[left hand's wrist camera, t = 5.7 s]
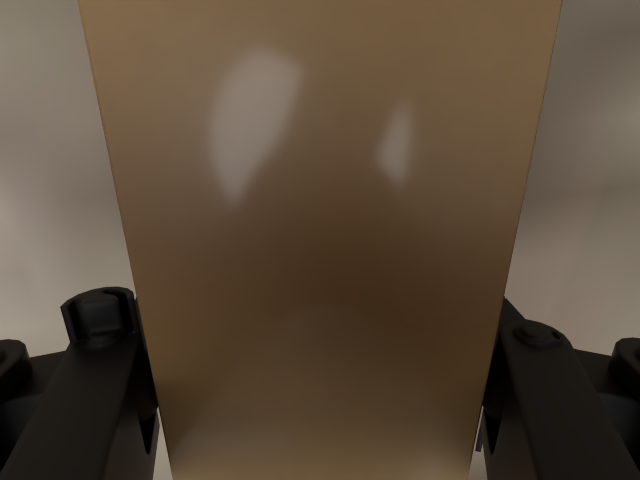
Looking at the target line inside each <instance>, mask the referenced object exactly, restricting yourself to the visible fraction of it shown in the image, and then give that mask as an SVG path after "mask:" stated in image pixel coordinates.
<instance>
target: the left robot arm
mask: <svg viewBox="0 0 640 480" xmlns="http://www.w3.org/2000/svg"><path fill="white" fill-rule="evenodd" d="M60 308H61V312H62V315H63V319H64V322H65V326H66V329H67V333H68V336H69V340H70V344H69V346H68V347H67V349H66V351H62V352H57V353H52V354H46V355H41V356H36V357H30V358H29V355H28V352H27V349H26V346H25V344H24V343H22V342H21V341H19V340H11V339H6V340H0V480H153V472H154V465H155V457H156V449H157V442H158V434H159V427H160V425H159V418H158V413H157V408H158V401H157V396H156V391H155V386H154V381H153V376H152V371H151V366H150V361H149V356H148V351H147V346H146V341H145V336H144V331H143V326H142V321H141V315H140V310H139V305H138V300H137V297H136V300H135V299H134V294H133V292H132V291H131V290H129V289H128V288H123V287H103V288H98V289H93V290H90V291H87V292H84V293H81V294H78V295H76V296H74V297H73V298H71V299H69V300H67V301H66V302H65V303H64V304H63V305H62V306H61V307H60ZM482 405H483V407H484V408H483V413H482V418H481V423H480V428H479V433H478V438H477V443H476V450H475V451H478V452H481V448H482V444H483V448H484V456H485V464H486V471H487V479H488V480H640V338H623V339H621V340H619V341H618V342H616V344H615V347H614V350H613V353H612V356H609V355H603V354H598V353H593V352H587V351H582V350H577V349H573V347H572V345H571V343H570V341H569V340H568V339H567V338H566V337H565V336H564V334H562V333H561V332H559V331H557V330H556V329H554V328H553V327H550V326H548V325H545V324H543V323H540V322H536V321H532V320H527V319H525V318H524V317H523V316H522V315H521V314H520V313H519V312H518V311H517V310H516V308H515V307H514V306H513V305H512V304H511V303H510V302H509V301H508V300H507V299H505V296H504V298H503V303H502V308H501V313H500V318H499V323H498V328H497V333H496V338H495V343H494V348H493V353H492V358H491V363H490V368H489V373H488V378H487V383H486V388H485V393H484V398H483V403H482Z"/></svg>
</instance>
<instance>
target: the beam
mask: <svg viewBox="0 0 640 480" xmlns="http://www.w3.org/2000/svg"><path fill="white" fill-rule="evenodd" d="M562 1H563V0H78V3H79V8H80V13H81V18H82V23H83V28H84V33H85V38H86V43H87V48H88V53H89V59H90V64H91V69H92V74H93V79H94V84H95V89H96V94H97V99H98V104H99V109H100V114H101V119H102V124H103V129H104V134H105V139H106V144H107V149H108V154H109V159H110V164H111V169H112V174H113V179H114V184H115V190H116V195H117V200H118V205H119V210H120V215H121V220H122V225H123V230H124V235H125V240H126V245H127V250H128V255H129V260H130V265H131V270H132V275H133V280H134V285H135V290H136V295H137V300H138V305H139V310H140V315H141V321H142V326H143V331H144V336H145V341H146V346H147V351H148V356H149V361H150V366H151V371H152V376H153V381H154V386H155V391H156V396H157V401H158V406H159V411H160V416H161V421H162V426H163V431H164V436H165V441H166V446H167V452H168V457H169V462H170V467H171V472H172V477H173V480H467V479H468V474H469V469H470V464H471V459H472V454H473V448H474V443H475V438H476V433H477V428H478V423H479V418H480V413H481V408H482V403H483V398H484V393H485V388H486V383H487V378H488V373H489V368H490V363H491V358H492V353H493V348H494V343H495V338H496V333H497V328H498V323H499V318H500V313H501V308H502V303H503V298H504V293H505V288H506V283H507V278H508V273H509V268H510V263H511V258H512V253H513V248H514V243H515V237H516V232H517V227H518V222H519V217H520V212H521V207H522V202H523V197H524V192H525V187H526V182H527V177H528V172H529V167H530V162H531V157H532V152H533V147H534V142H535V137H536V132H537V127H538V122H539V117H540V112H541V107H542V102H543V97H544V92H545V87H546V82H547V77H548V72H549V67H550V62H551V57H552V52H553V47H554V42H555V37H556V32H557V26H558V21H559V16H560V11H561V6H562Z"/></svg>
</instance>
